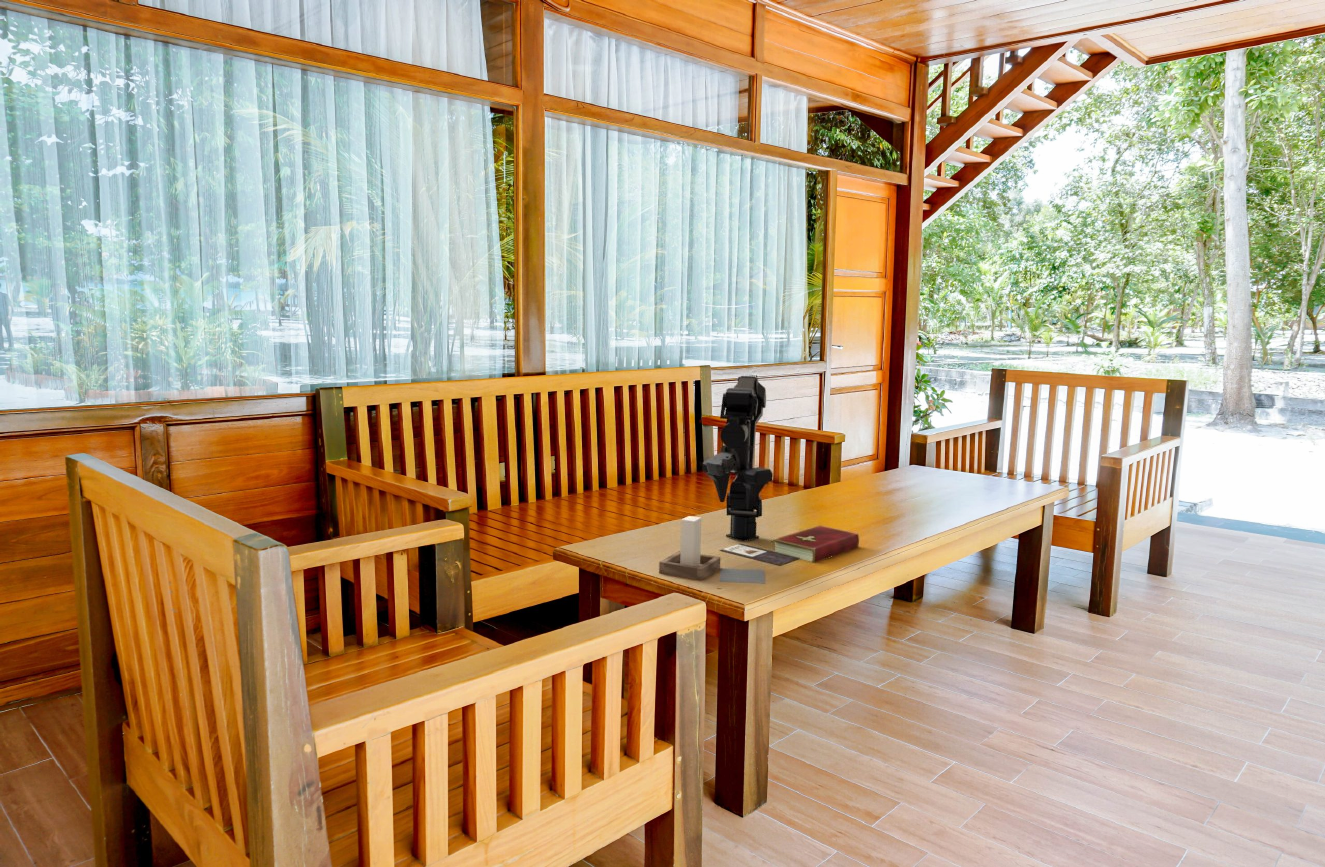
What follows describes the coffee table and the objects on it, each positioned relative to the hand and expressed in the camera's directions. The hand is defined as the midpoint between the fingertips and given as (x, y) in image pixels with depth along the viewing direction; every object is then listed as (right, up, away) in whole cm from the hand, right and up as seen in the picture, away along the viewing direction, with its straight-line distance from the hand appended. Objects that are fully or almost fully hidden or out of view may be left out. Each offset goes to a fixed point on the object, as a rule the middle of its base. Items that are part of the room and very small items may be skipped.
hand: (735, 505), depth 213 cm
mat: (+1, -15, -13) cm, 20 cm away
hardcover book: (+21, -13, +10) cm, 27 cm away
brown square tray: (-11, -14, -10) cm, 21 cm away
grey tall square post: (-11, -14, -10) cm, 21 cm away
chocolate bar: (+6, -13, +4) cm, 15 cm away
